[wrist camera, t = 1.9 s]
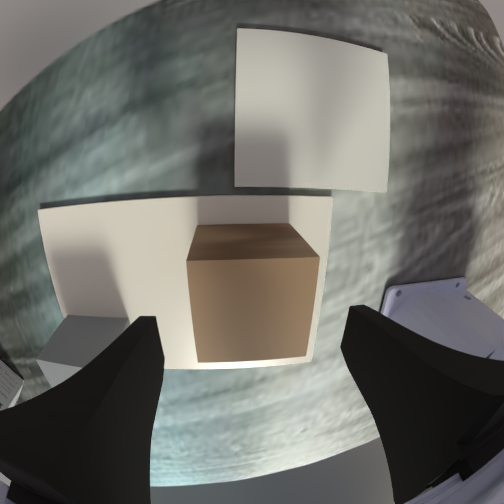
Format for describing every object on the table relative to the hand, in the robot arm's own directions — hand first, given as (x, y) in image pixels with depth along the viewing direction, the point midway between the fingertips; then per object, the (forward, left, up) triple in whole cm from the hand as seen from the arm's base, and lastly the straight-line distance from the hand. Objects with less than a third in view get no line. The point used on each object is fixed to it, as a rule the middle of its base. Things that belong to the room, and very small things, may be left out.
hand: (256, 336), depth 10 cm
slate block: (+10, +6, -6) cm, 13 cm away
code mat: (+4, +2, -7) cm, 8 cm away
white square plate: (-4, -9, -7) cm, 12 cm away
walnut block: (0, 0, -6) cm, 6 cm away
